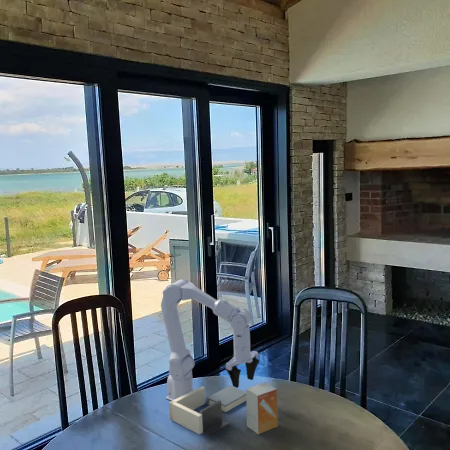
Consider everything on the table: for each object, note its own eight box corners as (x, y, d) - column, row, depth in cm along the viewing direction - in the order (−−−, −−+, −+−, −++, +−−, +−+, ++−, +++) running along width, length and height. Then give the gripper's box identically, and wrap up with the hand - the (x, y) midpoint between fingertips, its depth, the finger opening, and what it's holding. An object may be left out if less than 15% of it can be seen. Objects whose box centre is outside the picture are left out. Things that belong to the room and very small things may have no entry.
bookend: (200, 431, 149) (199, 410, 148) (219, 420, 155) (218, 400, 155) (209, 435, 146) (208, 414, 146) (228, 424, 153) (227, 404, 152)
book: (207, 405, 167) (207, 397, 166) (230, 393, 175) (229, 385, 175) (225, 413, 160) (225, 405, 160) (248, 400, 169) (248, 392, 169)
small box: (258, 435, 146) (257, 395, 144) (246, 426, 151) (245, 388, 150) (278, 426, 150) (277, 388, 149) (266, 418, 155) (265, 381, 154)
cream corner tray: (170, 419, 157) (169, 402, 157) (202, 402, 168) (201, 386, 168) (199, 434, 147) (198, 416, 147) (232, 415, 158) (231, 398, 158)
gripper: (236, 354, 152) (237, 393, 154) (264, 341, 163) (265, 379, 164) (220, 349, 157) (222, 387, 159) (249, 337, 168) (250, 373, 169)
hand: (243, 382), depth 162 cm, fingers open, 7 cm apart
